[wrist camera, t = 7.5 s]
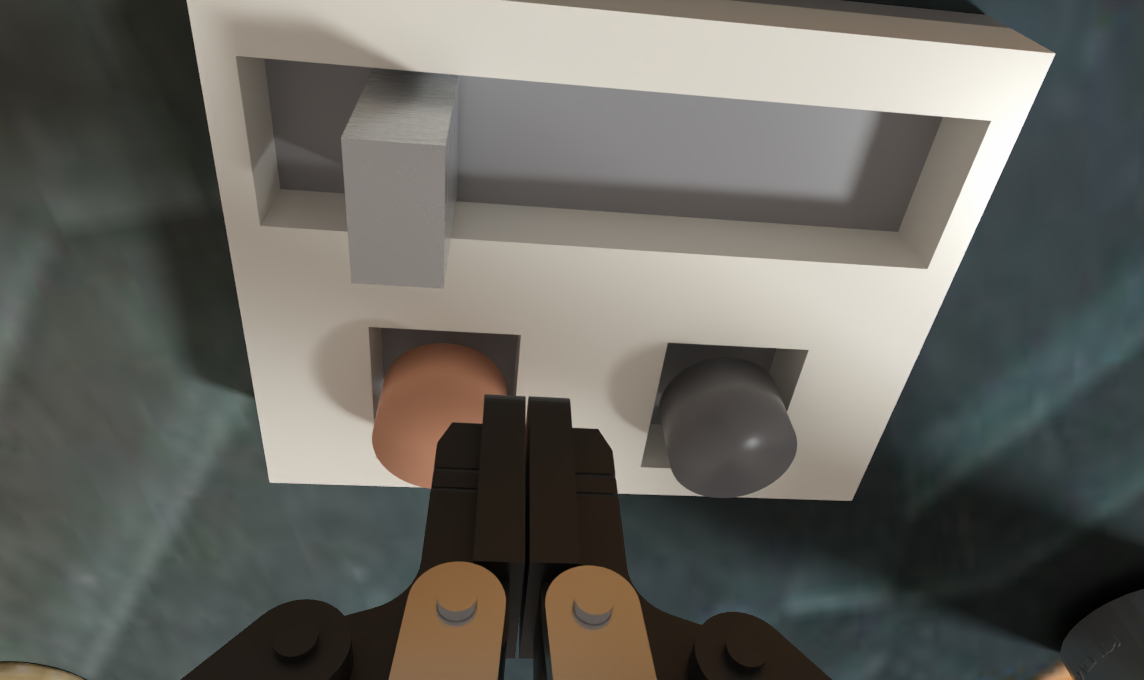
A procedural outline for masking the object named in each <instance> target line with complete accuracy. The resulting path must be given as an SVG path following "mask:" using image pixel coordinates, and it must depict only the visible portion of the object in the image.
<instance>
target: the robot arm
mask: <svg viewBox="0 0 1144 680" xmlns="http://www.w3.org/2000/svg"><path fill="white" fill-rule="evenodd" d="M518 623H519V658H533V680H832V679H831V678H829V677H828V676H827V675H826V674H825V673H824V672H823V671H822V670H820V669H819V668H818V667H817V666H816V665H815V664H814V663H813V662H811V661H810V660H809V659H808V658H807V657H806V656H805V655H804V654H802V653H801V652H800V651H799V650H798V649H797V648H796V647H795V646H794V645H792V644H791V643H790V642H789V641H788V640H787V639H786V638H785V637H783V636H782V635H781V634H780V633H779V632H778V631H777V630H776V629H774V628H773V627H772V626H771V625H769V624H768V623H766V622H765V621H763V620H761V619H759V618H757V617H755V616H752V615H749V614H746V613H740V612H726V613H720V614H718V615H715V616H713V617H711V618H710V619H708V620H707V621H706V622H705V623H704V624H703V625H700V624H697V623H694V622H691V621H688V620H685V619H682V618H679V617H676V616H673V615H670V614H668V613H665V612H663V611H661V610H659V609H657V608H655V607H654V606H653V605H651V604H650V603H648V602H647V601H646V600H645V599H644V598H643V597H642V596H641V595H640V594H639V593H638V591H637V590H636V589H635V587H634V585H633V584H632V582H631V580H630V577H629V575H628V570H627V564H626V556H625V547H624V539H623V531H622V523H621V515H620V507H619V499H618V491H617V482H616V479H615V466H614V458H613V450H612V449H611V447H610V446H609V444H608V443H607V441H606V440H605V438H604V437H603V435H602V434H601V432H600V431H599V429H589V428H572V417H571V403H570V399H569V398H555V397H535V396H529V398H528V405H527V416H526V397H525V396H512V395H492V394H485V395H484V409H483V423H482V424H479V423H457V422H452V423H451V425H450V426H449V427H448V429H447V430H446V431H445V433H444V434H443V435H442V437H441V438H440V440H439V441H438V442H437V448H436V455H435V462H434V471H433V477H432V485H431V492H430V500H429V507H428V515H427V522H426V530H425V537H424V545H423V552H422V560H421V565H420V569H419V571H418V574H417V576H416V578H415V579H414V581H413V582H412V584H411V585H410V586H409V587H408V588H407V589H406V590H405V591H404V592H403V593H402V594H401V595H400V596H398V597H397V598H395V599H393V600H392V601H390V602H388V603H386V604H384V605H381V606H378V607H375V608H372V609H369V610H365V611H361V612H357V613H354V614H350V615H346V616H344V615H343V614H342V613H341V612H340V611H339V610H338V609H337V608H335V607H333V606H332V605H330V604H328V603H325V602H322V601H318V600H309V599H305V600H295V601H291V602H287V603H284V604H281V605H279V606H277V607H275V608H273V609H271V610H269V611H268V612H266V613H265V614H263V615H262V616H261V617H259V618H258V619H257V620H256V621H254V622H253V623H252V624H251V625H249V626H248V627H247V628H246V629H244V630H243V631H242V632H240V633H239V634H238V635H237V636H235V637H234V638H233V639H232V640H230V641H229V642H228V643H227V644H225V645H224V646H223V647H221V648H220V649H219V650H218V651H216V652H215V653H214V654H213V655H211V656H210V657H209V658H207V659H206V660H205V661H204V662H202V663H201V664H200V665H199V666H197V667H196V668H195V669H194V670H192V671H191V672H190V673H188V674H187V675H186V676H185V677H183V678H182V679H181V680H504V669H505V659H506V658H515V651H516V642H517V633H518ZM1060 653H1061V660H1062V661H1063V663H1064V665H1065V667H1066V668H1067V670H1068V672H1069V673H1070V675H1071V677H1072V678H1073V680H1144V589H1141V590H1138V591H1135V592H1132V593H1129V594H1126V595H1124V596H1122V597H1119V598H1117V599H1115V600H1113V601H1110V602H1108V603H1107V604H1105V605H1103V606H1101V607H1100V608H1098V609H1096V610H1094V611H1093V612H1091V613H1090V614H1089V615H1087V616H1086V617H1085V618H1083V619H1082V620H1081V621H1079V622H1078V623H1077V624H1076V625H1075V626H1074V627H1073V628H1072V630H1071V631H1070V632H1069V633H1068V635H1067V636H1066V638H1065V639H1064V641H1063V643H1062V647H1061V650H1060Z"/></svg>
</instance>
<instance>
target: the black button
mask: <svg viewBox="0 0 1144 680" xmlns="http://www.w3.org/2000/svg"><path fill="white" fill-rule="evenodd" d="M659 415H660V420H661V424H662V429H663V434H664V438H665V443H666V448H667V452H668V457H669V462H670V466H671V470H672V473H673V475H674V477H675V478H676V480H677V481H678V482H679V483H680V484H681V485H682V486H684V487H685V488H686V489H688V490H690V491H692V492H694V493H696V494H699V495H702V496H707V497H712V498H732V497H739V496H744V495H747V494H751V493H754V492H756V491H759V490H761V489H763V488H765V487H767V486H769V485H770V484H772V483H773V482H775V481H776V480H777V479H779V478H780V477H781V476H782V475H783V474H784V473H785V472H786V471H787V469H788V468H789V467H790V465H791V464H792V462H793V460H794V458H795V455H796V451H797V437H796V434H795V431H794V428H793V426H792V424H791V421H790V419H789V416H788V414H787V411H786V409H785V406H784V404H783V401H782V399H781V396H780V394H779V392H778V389H777V387H776V384H775V382H774V380H773V378H772V377H771V375H770V374H769V373H768V372H767V371H766V370H765V369H764V368H762V367H761V366H759V365H757V364H755V363H753V362H751V361H748V360H744V359H740V358H715V359H710V360H706V361H703V362H700V363H697V364H695V365H693V366H691V367H689V368H687V369H685V370H684V371H682V372H681V373H679V374H678V375H677V376H676V377H675V378H674V379H673V380H672V381H671V382H670V383H669V384H668V386H667V387H666V389H665V390H664V392H663V394H662V396H661V400H660V404H659Z"/></svg>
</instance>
